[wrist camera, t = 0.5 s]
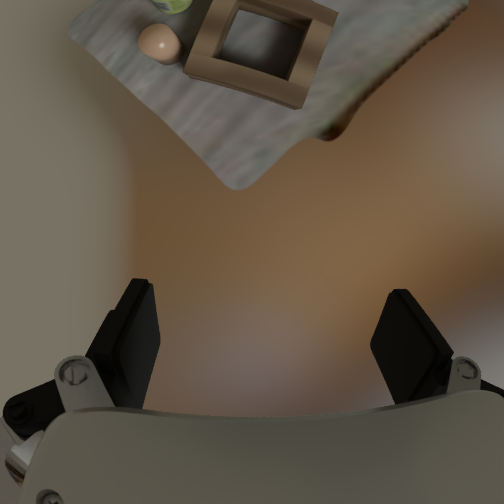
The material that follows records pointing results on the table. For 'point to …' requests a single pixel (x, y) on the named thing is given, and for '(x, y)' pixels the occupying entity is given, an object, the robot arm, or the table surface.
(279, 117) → the table surface
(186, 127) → the table surface
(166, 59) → the short stub
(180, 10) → the tube
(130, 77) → the table surface
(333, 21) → the square wooden frame
